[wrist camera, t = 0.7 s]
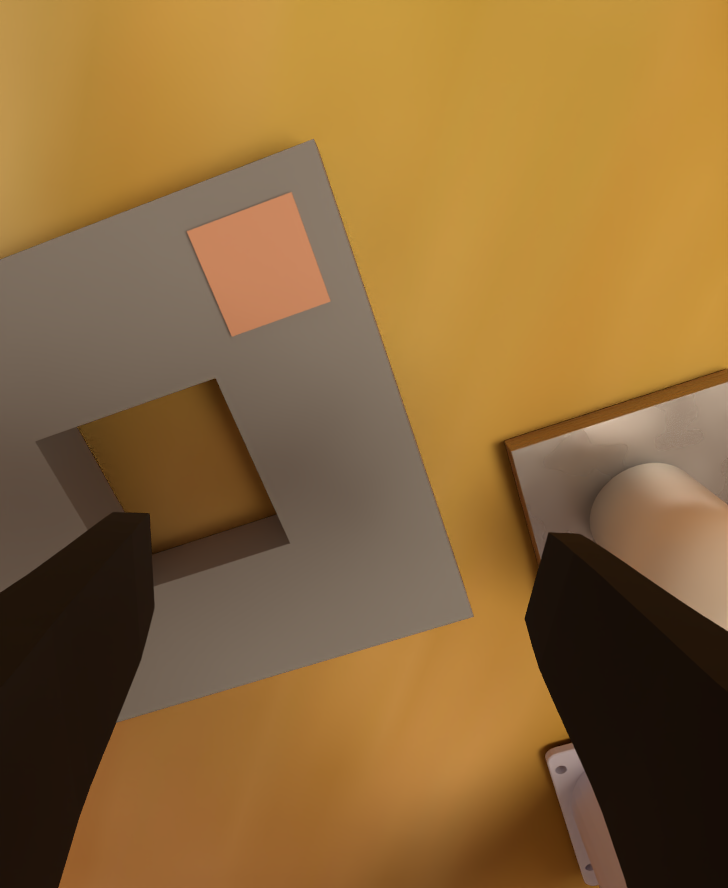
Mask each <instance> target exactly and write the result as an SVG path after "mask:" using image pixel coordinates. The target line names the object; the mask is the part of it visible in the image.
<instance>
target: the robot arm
mask: <svg viewBox="0 0 728 888" xmlns="http://www.w3.org/2000/svg"><path fill="white" fill-rule="evenodd" d="M154 609H155V602H154V584H153V566H152V549H151V531H150V514H149V513H127V512H112V513H111V514H109V515H108V516H106V517H105V518H103V519H102V520H101V521H99V522H98V523H97V524H95V525H94V526H93V527H91V528H90V529H89V530H87V531H86V532H85V533H83V534H82V535H81V536H79V537H78V538H77V539H75V540H74V541H73V542H71V543H70V544H69V545H67V546H66V547H65V548H63V549H62V550H60V551H59V552H58V553H56V554H55V555H54V556H52V557H51V558H49V559H48V560H47V561H45V562H44V563H42V564H41V565H40V566H38V567H37V568H36V569H34V570H33V571H31V572H30V573H29V574H27V575H26V576H24V577H23V578H21V579H20V580H18V581H17V582H15V583H14V584H12V585H11V586H9V587H8V588H6V589H5V590H3V591H2V592H0V888H58V887H59V883H60V880H61V877H62V873H63V870H64V867H65V863H66V860H67V857H68V853H69V850H70V847H71V843H72V840H73V837H74V833H75V830H76V827H77V823H78V820H79V817H80V814H81V811H82V808H83V806H84V803H85V800H86V797H87V794H88V792H89V789H90V786H91V784H92V781H93V779H94V776H95V774H96V771H97V769H98V766H99V764H100V761H101V759H102V756H103V754H104V751H105V749H106V747H107V744H108V742H109V739H110V737H111V734H112V732H113V729H114V727H115V724H116V722H117V719H118V717H119V714H120V712H121V710H122V707H123V705H124V702H125V700H126V697H127V695H128V692H129V690H130V687H131V685H132V682H133V679H134V677H135V674H136V672H137V669H138V667H139V664H140V662H141V659H142V655H143V651H144V648H145V644H146V640H147V637H148V633H149V629H150V625H151V621H152V617H153V613H154ZM525 622H526V625H527V629H528V633H529V636H530V640H531V644H532V647H533V650H534V653H535V657H536V660H537V663H538V666H539V669H540V672H541V674H542V676H543V679H544V681H545V683H546V686H547V688H548V690H549V692H550V695H551V697H552V699H553V702H554V704H555V706H556V708H557V711H558V713H559V715H560V717H561V720H562V722H563V724H564V726H565V728H566V731H567V733H568V735H569V737H570V739H571V742H572V743H569V744H565V745H562V746H558V747H554V748H552V749H550V750H549V751H548V752H547V753H546V755H545V759H546V762H547V765H548V768H549V772H550V775H551V778H552V781H553V784H554V788H555V791H556V794H557V797H558V800H559V803H560V807H561V810H562V813H563V816H564V819H565V823H566V826H567V829H568V832H569V835H570V838H571V842H572V845H573V848H574V851H575V854H576V858H577V861H578V864H579V867H580V870H581V873H582V876H583V879H584V882H585V883H586V884H588V885H591V886H595V885H599V886H600V888H728V631H727V630H725V629H724V628H722V627H721V626H719V625H717V624H716V623H714V622H713V621H711V620H709V619H708V618H706V617H705V616H703V615H702V614H700V613H698V612H697V611H695V610H694V609H692V608H691V607H689V606H688V605H686V604H685V603H683V602H682V601H680V600H679V599H677V598H676V597H674V596H673V595H671V594H670V593H668V592H667V591H665V590H664V589H663V588H661V587H660V586H658V585H657V584H655V583H654V582H652V581H651V580H649V579H648V578H647V577H645V576H644V575H642V574H641V573H639V572H638V571H636V570H635V569H634V568H632V567H631V566H629V565H628V564H626V563H625V562H623V561H622V560H621V559H619V558H618V557H616V556H615V555H613V554H612V553H610V552H609V551H607V550H606V549H604V548H603V547H601V546H600V545H598V544H597V543H595V542H593V541H592V540H590V539H588V538H587V537H585V536H583V535H581V534H578V533H556V532H548V535H547V539H546V543H545V546H544V550H543V553H542V557H541V561H540V564H539V568H538V572H537V575H536V579H535V583H534V586H533V590H532V593H531V597H530V601H529V604H528V608H527V612H526V615H525Z"/></svg>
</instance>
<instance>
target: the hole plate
mask: <svg viewBox="0 0 728 888" xmlns="http://www.w3.org/2000/svg"><path fill="white" fill-rule="evenodd" d="M215 378H216V380H217V382H218V385H219V387H220V389H221V391H222V394H223V396H224V398H225V400H226V402H227V405H228V407H229V409H230V411H231V413H232V416H233V418H234V420H235V422H236V425H237V427H238V429H239V431H240V433H241V436H242V438H243V440H244V442H245V444H246V447H247V449H248V451H249V453H250V456H251V458H252V460H253V462H254V464H255V467H256V469H257V471H258V473H259V475H260V478H261V480H262V482H263V484H264V487H265V489H266V491H267V493H268V495H269V498H270V500H271V502H272V504H273V506H274V509H275V511H276V513H277V515H273V516H270V517H267V518H264V519H261V520H258V521H255V522H252V523H249V524H246V525H243V526H239V527H236V528H233V529H230V530H227V531H224V532H221V533H218V534H215V535H212V536H208V537H205V538H202V539H199V540H196V541H193V542H190V543H187V544H184V545H181V546H178V547H174V548H171V549H168V550H165V551H162V552H159V553H156V554H153V555H152V566H153V584H154V602H155V609H154V613H153V617H152V621H151V625H150V629H149V633H148V637H147V640H146V644H145V648H144V651H143V655H142V659H141V662H140V664H139V667H138V669H137V672H136V674H135V677H134V679H133V682H132V685H131V687H130V690H129V692H128V695H127V697H126V700H125V702H124V705H123V707H122V710H121V712H120V714H119V717H118V719H117V722H120V721H123V720H126V719H130V718H133V717H137V716H140V715H143V714H147V713H150V712H153V711H157V710H160V709H164V708H167V707H170V706H174V705H177V704H180V703H184V702H187V701H191V700H194V699H197V698H201V697H204V696H207V695H211V694H214V693H218V692H221V691H224V690H228V689H231V688H235V687H238V686H241V685H245V684H248V683H251V682H255V681H258V680H262V679H265V678H268V677H272V676H275V675H278V674H282V673H285V672H289V671H292V670H295V669H299V668H302V667H305V666H309V665H312V664H316V663H319V662H322V661H326V660H329V659H332V658H336V657H339V656H343V655H346V654H349V653H353V652H356V651H359V650H363V649H366V648H370V647H373V646H376V645H380V644H383V643H387V642H390V641H393V640H397V639H400V638H403V637H407V636H410V635H414V634H417V633H420V632H424V631H427V630H430V629H434V628H437V627H441V626H444V625H447V624H451V623H454V622H457V621H461V620H464V619H468V618H471V617H474V616H473V613H472V609H471V606H470V603H469V600H468V597H467V594H466V590H465V587H464V584H463V581H462V578H461V575H460V572H459V569H458V566H457V563H456V560H455V557H454V554H453V551H452V548H451V545H450V542H449V539H448V536H447V533H446V530H445V527H444V524H443V521H442V518H441V515H440V512H439V509H438V506H437V503H436V500H435V497H434V494H433V491H432V488H431V485H430V482H429V479H428V476H427V473H426V470H425V467H424V464H423V461H422V458H421V455H420V452H419V449H418V446H417V443H416V440H415V437H414V434H413V431H412V428H411V425H410V422H409V419H408V416H407V413H406V410H405V407H404V404H403V401H402V398H401V395H400V392H399V389H398V386H397V383H396V380H395V377H394V374H393V371H392V368H391V365H390V362H389V359H388V356H387V353H386V350H385V347H384V344H383V341H382V338H381V335H380V332H379V330H378V327H377V324H376V321H375V318H374V315H373V312H372V309H371V306H370V303H369V300H368V297H367V294H366V291H365V288H364V285H363V282H362V279H361V276H360V273H359V270H358V267H357V264H356V261H355V258H354V255H353V252H352V249H351V246H350V243H349V240H348V237H347V234H346V231H345V228H344V225H343V222H342V219H341V216H340V213H339V210H338V207H337V204H336V201H335V198H334V195H333V192H332V189H331V186H330V183H329V180H328V177H327V174H326V171H325V168H324V165H323V162H322V159H321V156H320V153H319V150H318V147H317V145H316V143H315V141H314V139H312V140H310V141H307V142H305V143H302V144H299V145H297V146H294V147H292V148H289V149H286V150H284V151H281V152H279V153H276V154H273V155H271V156H268V157H266V158H263V159H260V160H258V161H255V162H253V163H250V164H247V165H245V166H242V167H240V168H237V169H234V170H232V171H229V172H227V173H224V174H221V175H219V176H216V177H214V178H211V179H208V180H206V181H203V182H200V183H198V184H195V185H193V186H190V187H187V188H185V189H182V190H180V191H177V192H174V193H172V194H169V195H167V196H164V197H161V198H159V199H156V200H154V201H151V202H148V203H146V204H143V205H141V206H138V207H135V208H133V209H130V210H128V211H125V212H122V213H120V214H117V215H115V216H112V217H109V218H107V219H104V220H102V221H99V222H96V223H94V224H91V225H89V226H86V227H83V228H81V229H78V230H76V231H73V232H70V233H68V234H65V235H63V236H60V237H57V238H55V239H52V240H50V241H47V242H44V243H42V244H39V245H37V246H34V247H31V248H29V249H26V250H24V251H21V252H18V253H16V254H13V255H11V256H8V257H5V258H3V259H0V592H2V591H3V590H5V589H6V588H8V587H9V586H11V585H12V584H14V583H15V582H17V581H18V580H20V579H21V578H23V577H24V576H26V575H27V574H29V573H30V572H31V571H33V570H34V569H36V568H37V567H38V566H40V565H41V564H42V563H44V562H45V561H47V560H48V559H49V558H51V557H52V556H54V555H55V554H56V553H58V552H59V551H60V550H62V549H63V548H65V547H66V546H67V545H69V544H70V543H71V542H73V541H74V540H75V539H77V538H78V537H79V536H81V535H82V534H83V533H85V532H86V531H87V530H89V529H90V528H91V527H93V526H94V525H95V524H97V523H98V522H99V521H101V520H102V519H103V518H105V517H106V516H108V515H109V514H111V513H112V512H124V510H123V509H122V507H121V505H120V503H119V501H118V500H117V498H116V496H115V494H114V493H113V491H112V489H111V487H110V485H109V484H108V482H107V480H106V478H105V476H104V475H103V473H102V471H101V469H100V468H99V466H98V464H97V462H96V460H95V459H94V457H93V455H92V453H91V451H90V450H89V448H88V446H87V444H86V443H85V441H84V439H83V437H82V435H81V434H80V432H79V430H78V428H77V426H80V425H83V424H86V423H89V422H92V421H95V420H97V419H100V418H103V417H106V416H109V415H112V414H115V413H117V412H120V411H123V410H126V409H129V408H132V407H135V406H137V405H140V404H143V403H146V402H149V401H152V400H155V399H157V398H160V397H163V396H166V395H169V394H172V393H175V392H177V391H180V390H183V389H186V388H189V387H192V386H195V385H197V384H200V383H203V382H206V381H209V380H212V379H215Z"/></svg>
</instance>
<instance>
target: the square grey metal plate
mask: <svg viewBox="0 0 728 888" xmlns="http://www.w3.org/2000/svg"><path fill="white" fill-rule="evenodd" d="M504 442H505V446H506V449H507V453H508V457H509V460H510V464H511V468H512V471H513V475H514V479H515V482H516V486H517V490H518V493H519V497H520V501H521V504H522V508H523V511H524V515H525V519H526V522H527V526H528V530H529V533H530V537H531V541H532V544H533V548H534V552H535V555H536V559H537V563H538V566H539V564H540V561H541V557H542V553H543V550H544V546H545V543H546V539H547V535H548V532H556V533H578V534H581V535H583V536H585V537H587V538H588V539H590V540H592V541H593V542H595V540H594V538H593V536H592V533H591V530H590V512H591V508H592V505H593V503H594V501H595V498H596V497H597V495H598V493H599V492H600V491H601V489H602V488H603V487H604V486H605V485H606V484H607V483H608V482H609V481H610V480H611V479H612V478H613V477H615V476H616V475H618V474H619V473H621V472H623V471H625V470H627V469H629V468H631V467H634V466H637V465H641V464H646V463H665V464H669V465H673V466H675V467H678V468H680V469H681V470H683V471H685V472H686V473H687V474H689V475H690V476H691V477H692V478H694V479H695V480H696V481H698V482H699V483H700V484H702V485H703V486H704V487H705V488H707V489H708V490H709V491H711V492H712V493H713V494H715V495H716V496H717V497H718V498H720V499H721V500H722V501H724V502H725V503H726V504H727V505H728V369H725V370H722V371H719V372H716V373H713V374H710V375H707V376H703V377H700V378H697V379H694V380H691V381H688V382H685V383H682V384H679V385H676V386H672V387H669V388H666V389H663V390H660V391H657V392H654V393H651V394H648V395H645V396H642V397H638V398H635V399H632V400H629V401H626V402H623V403H620V404H617V405H614V406H611V407H608V408H604V409H601V410H598V411H595V412H592V413H589V414H586V415H583V416H580V417H577V418H573V419H570V420H567V421H564V422H561V423H558V424H555V425H552V426H549V427H546V428H543V429H539V430H536V431H533V432H530V433H527V434H524V435H521V436H518V437H515V438H512V439H509V440H505V441H504ZM595 543H596V542H595Z"/></svg>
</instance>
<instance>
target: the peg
mask: <svg viewBox="0 0 728 888" xmlns="http://www.w3.org/2000/svg"><path fill="white" fill-rule="evenodd" d="M590 530H591V533H592V536H593V538H594V540H595V542H596V543H597V544H598V545H600V546H601V547H603V548H604V549H606V550H607V551H609V552H610V553H612V554H613V555H615V556H616V557H618V558H619V559H621V560H622V561H623V562H625V563H626V564H628V565H629V566H631V567H632V568H634V569H635V570H636V571H638V572H639V573H641V574H642V575H644V576H645V577H647V578H648V579H649V580H651V581H652V582H654V583H655V584H657V585H658V586H660V587H661V588H663V589H664V590H665V591H667V592H668V593H670V594H671V595H673V596H674V597H676V598H677V599H679V600H680V601H682V602H683V603H685V604H686V605H688V606H689V607H691V608H692V609H694V610H695V611H697V612H698V613H700V614H702V615H703V616H705V617H706V618H708V619H709V620H711V621H713V622H714V623H716V624H717V625H719V626H721V627H722V628H724V629H725V630H727V631H728V505H727V504H726V503H725V502H724V501H722V500H721V499H720V498H718V497H717V496H716V495H715V494H713V493H712V492H711V491H709V490H708V489H707V488H705V487H704V486H703V485H702V484H700V483H699V482H698V481H696V480H695V479H694V478H692V477H691V476H690V475H689V474H687V473H686V472H685V471H683V470H681V469H680V468H678V467H675V466H673V465H669V464H665V463H646V464H641V465H637V466H634V467H631V468H629V469H627V470H625V471H623V472H621V473H619V474H618V475H616V476H615V477H613V478H612V479H611V480H610V481H609V482H608V483H607V484H606V485H605V486H604V487H603V488H602V489H601V491H600V492H599V493H598V495H597V497H596V498H595V501H594V503H593V505H592V508H591V512H590Z"/></svg>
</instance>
